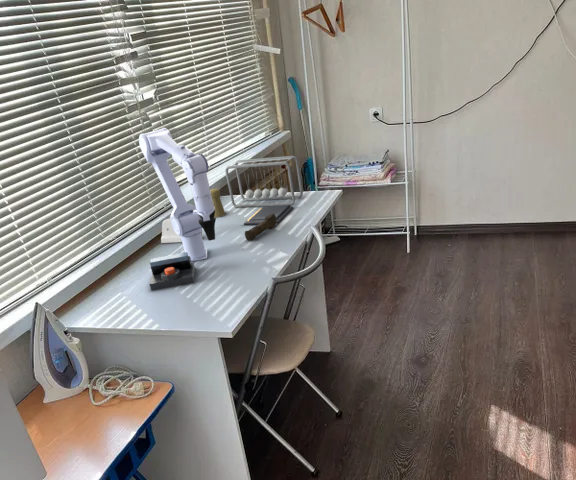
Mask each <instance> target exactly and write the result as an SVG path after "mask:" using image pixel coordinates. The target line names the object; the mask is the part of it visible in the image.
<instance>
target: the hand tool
mask: <svg viewBox="0 0 576 480" xmlns="http://www.w3.org/2000/svg"><path fill="white" fill-rule="evenodd" d="M276 223H277V220H276V216H275V214H270V215H268V216H266V217H265V220H264V221H263V222H261V223H260V224H258V225H254V226H253V227H251V228H250V229H248V230H244V237H245V239H246V241H248V242H249V241H254V239H256V238H257V237H258V236H259V235H261V234H263V233H264V232H266V231H267V230H270V229H271V230H272V229H273V228H275V226H276V225H277V224H278V223H277V224H276Z"/></svg>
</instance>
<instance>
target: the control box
mask: <svg viewBox="0 0 576 480" xmlns="http://www.w3.org/2000/svg"><path fill="white" fill-rule="evenodd" d="M195 276H196V266H195V262H192V268H191V269H186V270H179V269H175V273H173V274H170V275H166V274H165V271H164V272H162V273H161V274H159V275H153V274H152V273H151V277H150V279H149V287H150V291H151V292H154V291H159V290H165V289H170V288H175V287H180V286H181V287H182V286H185V285H191V284H195Z"/></svg>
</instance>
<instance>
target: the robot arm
mask: <svg viewBox="0 0 576 480" xmlns="http://www.w3.org/2000/svg"><path fill="white" fill-rule="evenodd" d="M138 136H139V137H138V143H139V148H140V150H141V152H142V154H143V156H144V158H145V160H146V162H147V163H149V164H152V167H153V168H154V171H155V173H156V175H157V177H158V179H159V181H160V183H161V185H162V187H163V189H164V192H165V194H166V196H167V198H168V200H169V202H170V204H171V206H172V208H173V210H172V212H171V213H170V216H169V218H170V220H171V222H172V226H173V229H174V231H175V233H176V234H177V235H179V236H181V240H182V242H181V243H182V247H183V250H184V253H185V252H187V253H188V256H190V259H191V262H197V261H201V260H207V259H208V252H209V251H208V249H207V248H205V245H204V244H205V243H204V239H203V237H202V235H201V231H202V232H203V231H204V234H205V236H206V238H207V240H208V241H209V242H210V241H215V240H216V230H215V228H216V220H217V217H214V215H215V207H214V205H213V200H212V196H211V191H210V190H211V187H210V182H209V178H208V174H207V173H208V172H209V167H210V166H209V162H208V160H207V157H206V156H205V155H204V154H203V153H196V154H195V152H193V151H192V150H191V149H190V148H188V147H187V146H186V145H184V144H178V143H177V141H175V140H174V139H173V137H172V134H171V131H170V130H168V128H166V127H162V128H160V129H156V130H153V131H149V132H145V133H140V134H139V135H138ZM170 156H171V158H172V160H173V162H175V163H176V164H178V166H180V167H181V168H182V171H183V173H184V174H185V176H186V179H187V182H188V183H189V184H190V188H191V193H192V197H193V201H194V205H193V204H190V203H188V202H187V200H186V198H185V196H184V194H183V191H182V190H181V188H180V185H179V184H178V182H177V179H176V177H175V174H174V173H173V171H172V168H171V167H170V164H169V162H168V159H169V157H170Z"/></svg>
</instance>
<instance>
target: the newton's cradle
mask: <svg viewBox="0 0 576 480" xmlns="http://www.w3.org/2000/svg"><path fill="white" fill-rule="evenodd" d="M282 160H285V161H282ZM290 160H294V161H295V165H296V173H297V180H298V186H299V195H295V190H294V183H293V182H294V181H293V176H292V170H291V165H290V163H289V161H290ZM273 161H274V162H273ZM257 162H258V163H257ZM273 166H275V168H276V172H277V174H279V172H278V169H277V166H279V168H280V169H279V170H280V173H282V170H281V166H286V167H287V174H288V181H289V185H290V194H291V195H287V194H288V192H287V189H286V188H285V187H283V186H282V184H283V180H282V178H280V175H277V177H278V178H280V179H278V182H280V183H279V185H280V188H279V189H277V188H276V187H275V183H274V180H272V177H271V174H272V175H274V173H273V172H274V171H273V169H271V174H270V170H269V167H273ZM257 167H258V169H261V167H267V171H268V174H269V180H270V183H272V184H271V186H272V188H271V189H269V188H267V185H266V184H267V183H266V182H265V181H264V178H263V175H264V177H266V174H265V171H263V175H262V171H261V170H259V172H260V174H261V180H262V183H263V184H264V185H263V186H264V189H263V190H261V189H260V188H259V185H258V182H257V181H256V179H255V177H256V178H258V175H257V172H255V175H256V176H255V175H254V172H253V171H251V173H252V176H253V180H254V182H255V188H256V189H255V190H254V191H253V190H252V189H250V188H247V190H246V191H245V193H244V192H243V186H242V181H241V175H240V171H239V169H242V171H243V173H244V175H246V174H245V173H246V172H245V169H246V168H247V169H249V168H250V169H251V170H253V169H252V168H257ZM229 169H230V170H231V169H235V172H236V173H235V174H236V177H237V182H238V187H239V193H240V197H241V199H242V202H240V203H239V204H236V203H235V199H234V193H233V189H232V184H231V179H230V175H229ZM224 171H225V177H226V181H227V187H228V191H229V196H230V201H231V204H232V206H233V207H234V208H239V209H240V208H259V207H260V208H262V207H266V206H282V205H290V206H292V205H294V204H295V203H296V201H297V200H298V199H301V198H302V197H303V195H304V191H303V183H302V176H301V169H300V161H299V159H298V157H297V156H295V155H286V156H285V155H284V156H273V157H272V156H271V157H260V158H249V159H247V158H246V159H238V160H236V161H235V162H234V163H233V164H232V165H228V166H226V168H225V170H224ZM247 177H248V179H247V178H246V176H244V179H247V180H248V181H247V180H245V181H246V183H248V182H250V179H249V177H250V176H249V175H247ZM247 187H249V184H247ZM244 194H245V195H244ZM291 199H292V201H291V202H272V203H270V202H269V203H249V204H248V203H246V204H243V203H245V202H253V201H254V202H255V201H272V200H273V201H274V200H275V201H276V200H291Z"/></svg>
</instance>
